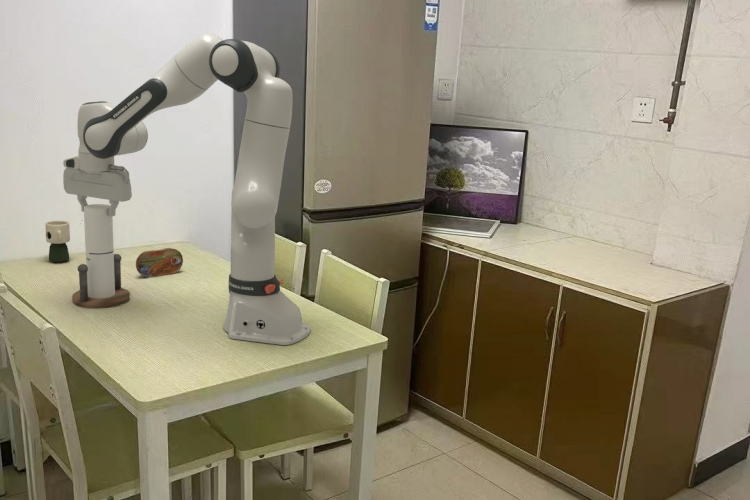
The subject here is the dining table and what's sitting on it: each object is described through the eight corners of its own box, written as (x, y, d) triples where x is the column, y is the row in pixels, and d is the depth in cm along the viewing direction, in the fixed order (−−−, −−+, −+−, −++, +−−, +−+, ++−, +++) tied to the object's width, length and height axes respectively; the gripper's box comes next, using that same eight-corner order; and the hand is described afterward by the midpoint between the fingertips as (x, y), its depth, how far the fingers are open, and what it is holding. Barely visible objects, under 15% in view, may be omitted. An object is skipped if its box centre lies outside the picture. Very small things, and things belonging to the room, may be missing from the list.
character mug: (45, 257, 230) (43, 219, 227) (68, 256, 233) (67, 218, 230) (49, 266, 221) (47, 226, 217) (73, 264, 224) (71, 225, 221)
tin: (139, 279, 213) (138, 253, 211) (134, 277, 216) (133, 251, 214) (183, 272, 224) (183, 247, 222) (178, 270, 226) (178, 245, 224)
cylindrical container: (105, 299, 189) (101, 210, 183) (82, 296, 190) (78, 207, 184) (120, 292, 196) (117, 205, 190) (97, 289, 197) (94, 203, 191)
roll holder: (141, 296, 198) (141, 256, 195) (103, 312, 184) (101, 269, 181) (100, 288, 203) (98, 249, 200) (59, 302, 189) (57, 261, 186)
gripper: (136, 166, 184) (137, 216, 187) (75, 158, 190) (77, 207, 194) (120, 168, 178) (121, 220, 181) (58, 160, 185) (60, 210, 188)
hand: (98, 213), depth 187 cm, fingers open, 7 cm apart
